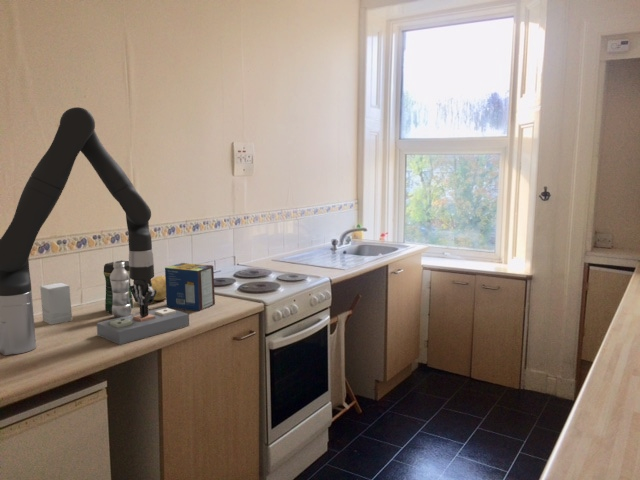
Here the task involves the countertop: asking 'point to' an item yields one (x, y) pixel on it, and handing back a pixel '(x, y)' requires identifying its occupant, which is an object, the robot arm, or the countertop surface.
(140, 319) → the button three dots
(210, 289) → the protein box
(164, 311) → the button one dot
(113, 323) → the button two dots
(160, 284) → the potato
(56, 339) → the countertop surface
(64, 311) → the supplement box
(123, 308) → the plastic bottle
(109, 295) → the coffee jar
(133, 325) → the button panel
